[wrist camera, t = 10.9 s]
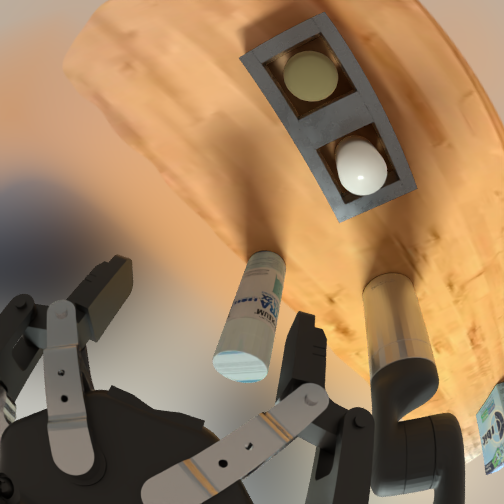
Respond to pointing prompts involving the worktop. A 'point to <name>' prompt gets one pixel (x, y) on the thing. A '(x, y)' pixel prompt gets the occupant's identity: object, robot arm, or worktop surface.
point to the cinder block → (331, 116)
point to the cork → (310, 76)
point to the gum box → (492, 429)
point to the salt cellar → (360, 165)
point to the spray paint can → (252, 320)
